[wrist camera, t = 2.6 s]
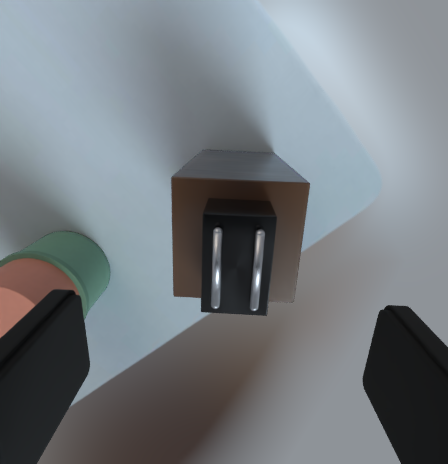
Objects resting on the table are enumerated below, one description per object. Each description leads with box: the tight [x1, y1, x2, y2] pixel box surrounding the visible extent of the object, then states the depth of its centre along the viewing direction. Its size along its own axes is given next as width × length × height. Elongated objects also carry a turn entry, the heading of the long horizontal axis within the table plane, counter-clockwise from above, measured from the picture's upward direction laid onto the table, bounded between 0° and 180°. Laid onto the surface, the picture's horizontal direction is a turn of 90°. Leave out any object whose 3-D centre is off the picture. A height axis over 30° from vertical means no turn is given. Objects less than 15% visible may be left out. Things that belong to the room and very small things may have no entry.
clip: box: [201, 198, 277, 316], centre depth 15 cm, size 3×5×3 cm, turn 178°
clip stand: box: [171, 150, 310, 303], centre depth 24 cm, size 7×7×15 cm
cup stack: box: [0, 231, 110, 338], centre depth 29 cm, size 9×9×11 cm
